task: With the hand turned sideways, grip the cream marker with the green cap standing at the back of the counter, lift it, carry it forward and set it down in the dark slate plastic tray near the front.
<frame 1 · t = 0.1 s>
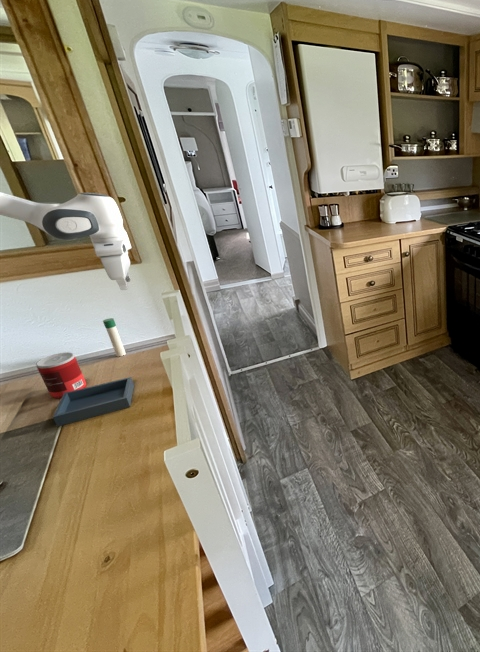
hand: (126, 285, 126), 25 cm above the table, tool pointing down, fingers open, 8 cm apart
marker: (121, 354, 131), on the table
tray: (98, 404, 106), on the table
canned food: (70, 391, 112), on the table
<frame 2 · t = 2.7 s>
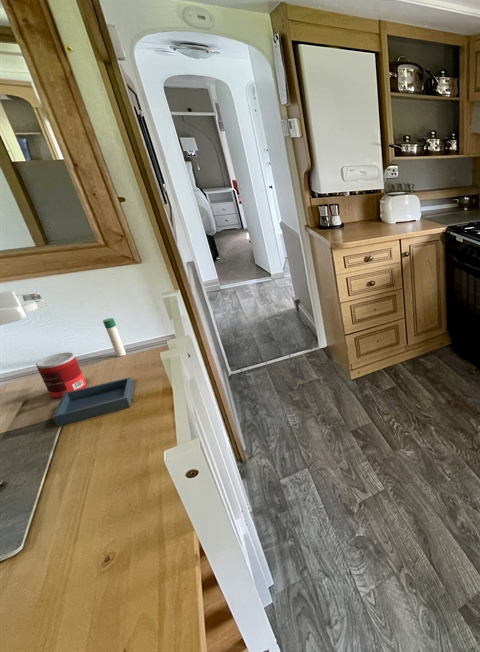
hand: (42, 299, 113), 25 cm above the table, tool horizontal, fingers open, 8 cm apart
nothing on the table moved.
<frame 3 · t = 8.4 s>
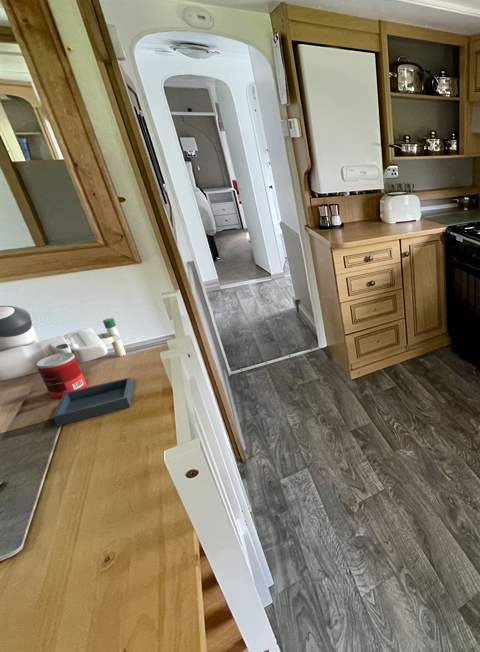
hand: (117, 335, 129), 7 cm above the table, tool horizontal, fingers closed on marker, 2 cm apart
marker: (121, 354, 131), on the table, touching gripper
everything else where it was.
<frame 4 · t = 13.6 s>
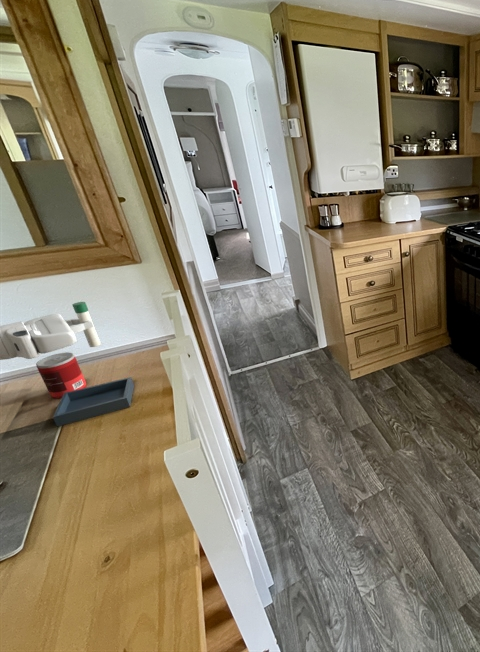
hand: (90, 321, 110), 20 cm above the table, tool horizontal, fingers closed on marker, 2 cm apart
marker: (95, 345, 112), point 13 cm above the table, touching gripper
everything else where it was.
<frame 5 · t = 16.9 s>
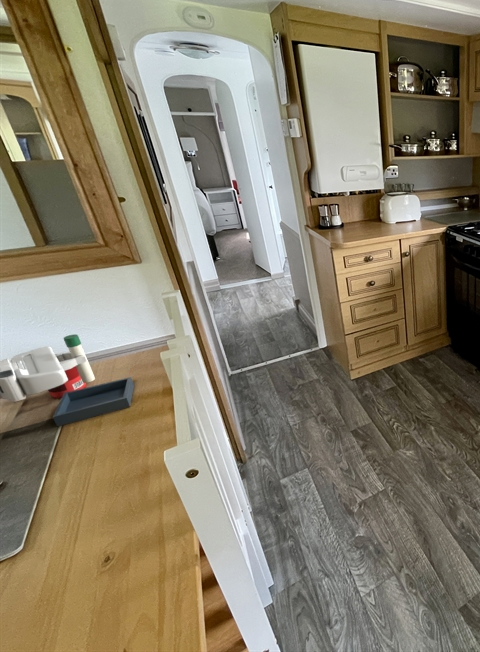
hand: (83, 355, 101), 15 cm above the table, tool horizontal, fingers closed on marker, 2 cm apart
marker: (89, 380, 103), point 8 cm above the table, touching gripper
everything else where it was.
when the fingers open (8 cm above the table, at t = 19.2 s): marker stays where it is, resting on tray.
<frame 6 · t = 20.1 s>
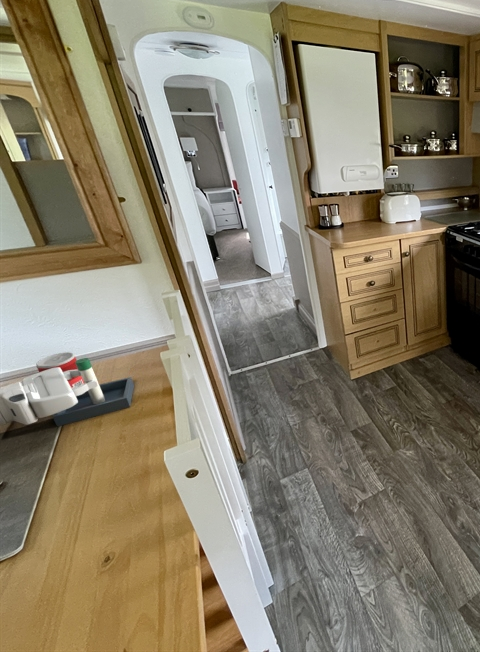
hand: (92, 376, 104), 9 cm above the table, tool horizontal, fingers open, 8 cm apart
marker: (99, 401, 106), point 1 cm above the table, touching tray
everything else where it was.
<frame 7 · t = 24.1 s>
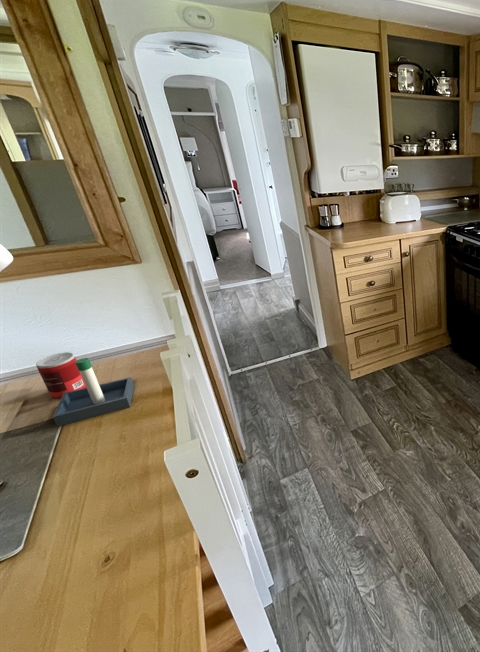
nothing on the table moved.
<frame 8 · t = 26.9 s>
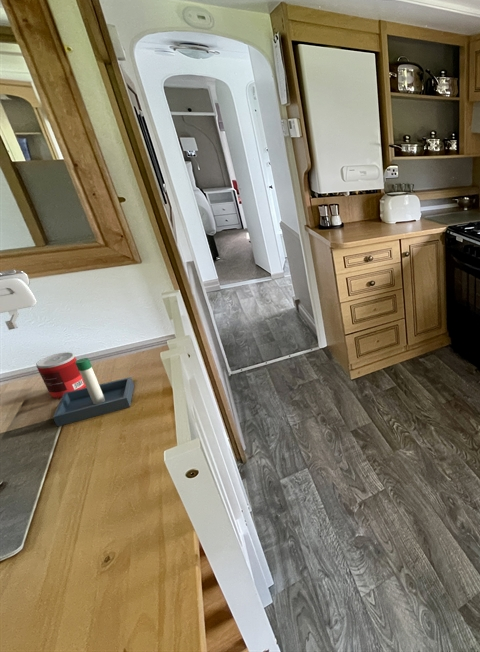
nothing on the table moved.
at the end: marker inside the target area in the tray (0.4 cm from its centre), point 0.6 cm above the tray's base; the gripper is holding nothing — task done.
